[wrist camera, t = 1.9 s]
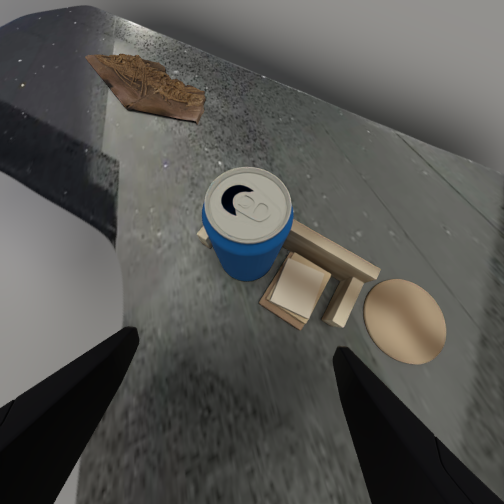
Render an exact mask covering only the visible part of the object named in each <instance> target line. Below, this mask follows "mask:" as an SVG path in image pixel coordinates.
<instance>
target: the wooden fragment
mask: <svg viewBox="0 0 504 504" xmlns="http://www.w3.org/2000/svg"><path fill="white" fill-rule="evenodd" d="M85 58H86V59H87V61H88V62H89V63H90V64H91V65H92V67H93V68H94V69H95V70H96V72H97V73H98V74H99V75H100V77H101V78H102V79H103V80H104V81H105V83H106V84H107V85H108V87H109V88H110V89H111V90H112V92H113V93H114V94H115V95H116V97H118V99H119V100H120V102H121V103H122V104H123V105H124V107H125V108H126V106H128V105H130V106H129V107H127V108H126V109H127V110H132V109H134V110H139V111H144V112H148V113H154V114H159V115H163V116H169V117H173V118H179V119H184V120H192V121H196V122H197V125H198V122H199V120H200V118H201V116H202V114H203V112H204V107H203V105H204V102H205V101H206V99H205V96H204V93H205V92H204V91H200V90H199V89H196V88H195V87H193V86H190V85H187V86H185V84H183V82H181V81H179V80H178V79H173V80H171V78H170V77H169V75H167V74H166V73H165V72H166V71H165V67H164V66H163V65H161V64H159V63H156V62H152V61H148V60H144V59H142V58H140V56H139V55H135V56H131V55H125V54H119V55H110V56H104V55H88V56H86V57H85Z"/></svg>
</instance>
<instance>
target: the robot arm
mask: <svg viewBox="0 0 504 504" xmlns="http://www.w3.org/2000/svg"><path fill="white" fill-rule="evenodd" d="M138 345H139V336H138V331H137V328H136V327H129V326H127V327H124V328H123V329H121V330H120V331H118V332H117V333H115V334H114V335H112V336H111V337H109V338H107V339H106V340H104V341H103V342H101V343H100V344H98V345H97V346H95V347H94V348H92V349H91V350H89V351H87V352H86V353H84V354H83V355H81V356H80V357H78V358H77V359H75V360H74V361H72V362H70V363H69V364H67V365H66V366H64V367H63V368H61V369H60V370H58V371H57V372H55V373H54V374H52V375H51V376H49V377H47V378H46V379H44V380H43V381H41V382H40V383H38V384H37V385H35V386H34V387H32V388H30V389H29V390H27V391H26V392H24V393H23V394H21V395H20V396H18V397H17V398H16V399H15V400H12V401H10V402H9V403H7V404H6V405H4V406H3V407H1V408H0V504H54V502H55V500H56V498H57V496H58V495H59V493H60V491H61V489H62V488H63V486H64V484H65V482H66V481H67V479H68V477H69V475H70V473H71V472H72V470H73V468H74V466H75V465H76V463H77V461H78V459H79V458H80V456H81V454H82V452H83V450H84V449H85V447H86V445H87V443H88V442H89V440H90V438H91V436H92V434H93V433H94V431H95V429H96V427H97V426H98V424H99V422H100V420H101V418H102V417H103V415H104V413H105V411H106V410H107V408H108V406H109V404H110V402H111V401H112V399H113V397H114V395H115V394H116V392H117V390H118V388H119V386H120V385H121V383H122V381H123V379H124V376H125V374H126V372H127V370H128V368H129V365H130V363H131V361H132V359H133V356H134V354H135V352H136V350H137V348H138ZM333 367H334V372H335V377H336V381H337V386H338V391H339V396H340V400H341V404H342V408H343V411H344V414H345V417H346V421H347V424H348V427H349V431H350V434H351V437H352V440H353V444H354V447H355V450H356V454H357V457H358V460H359V463H360V467H361V470H362V473H363V477H364V480H365V483H366V486H367V490H368V493H369V496H370V499H371V503H372V504H504V502H503V501H502V500H501V499H500V498H499V497H498V496H497V495H496V494H495V493H494V492H492V491H491V490H490V489H489V488H488V487H487V486H486V485H485V484H484V483H483V482H482V481H481V480H480V479H479V478H478V477H477V476H476V475H474V474H473V473H472V472H471V471H470V470H469V469H468V468H467V467H466V466H465V465H464V464H463V463H462V462H461V461H460V460H459V459H458V458H457V457H456V456H455V455H454V454H453V453H452V452H451V451H450V450H449V449H448V448H447V447H446V446H445V445H444V444H443V443H442V442H441V441H440V440H439V439H438V438H437V437H435V436H434V434H433V433H432V432H431V431H430V430H429V429H428V428H427V427H426V426H425V425H424V424H423V423H422V422H421V421H420V420H419V419H418V418H417V417H416V416H415V415H414V414H413V413H412V412H411V410H410V409H409V408H408V407H407V406H406V405H405V404H404V403H403V402H402V401H401V400H400V399H399V398H398V397H397V396H396V395H395V394H394V393H393V392H392V391H391V390H390V389H389V388H388V387H387V386H386V385H385V384H384V383H383V382H382V381H381V380H380V379H379V378H378V377H377V376H376V375H375V374H374V373H373V372H372V371H371V370H370V369H369V368H368V367H367V366H366V365H365V364H364V363H363V362H362V361H361V360H360V359H359V358H358V357H357V356H356V355H355V354H354V353H353V352H352V351H351V350H350V349H349V348H348V347H345V346H338V347H337V349H336V351H335V354H334V356H333Z"/></svg>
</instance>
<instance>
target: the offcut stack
mask: <svg viewBox="0 0 504 504" xmlns="http://www.w3.org/2000/svg"><path fill="white" fill-rule="evenodd" d="M330 276H331V274H330V273H329V272H327V271H325V270H324V269H322V268H320V267H319V266H317V265H315V264H314V263H312V262H310V261H309V260H307V259H305V258H304V257H302V256H300V255H299V254H297V253H295V252H294V253H292V252H290V253H289V254H288V256H287V258H286V259H285V261H284V262H283V264H282V266H281V267H280V269H279V271H278V272H277V274H276V275H275V277H274V279H273V280H272V282H271V284H270V285H269V287H268V289H267V290H266V292H265V293H264V295H263V297H262V298H261V300H260V302H259V304H260V305H262V306H263V307H265V308H266V309H268V310H269V311H271V312H272V313H274V314H275V315H277V316H278V317H280V318H281V319H283V320H284V321H286V322H287V323H289V324H290V325H292V326H293V327H295V328H296V329H298V330H302V328H303V326H304V324H306V323H307V321H308V319H309V318H310V315H311V313H312V311H313V309H314V307H315V305H316V304H317V302H318V300H319V298H320V296H321V294H322V292H323V290H324V288H325V286H326V284H327V282H328V280H329V278H330Z"/></svg>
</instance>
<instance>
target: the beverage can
mask: <svg viewBox="0 0 504 504" xmlns="http://www.w3.org/2000/svg"><path fill="white" fill-rule="evenodd" d="M202 221H203V225H204V228H205V231H206V233H207V235H208V237H209V239H210V241H211V243H212V246H213V248H214V250H215V252H216V254H217V256H218V258H219V260H220V263H221V265H222V267H223V268H224V270H225V271H226V272H227V273H228V274H229V275H230V276H231V277H233V278H235V279H237V280H241V281H253V280H256V279H259V278H261V277H262V276H264V275H265V274H266V273H267V272H268V271H269V269H270V268H271V266H272V264H273V262H274V260H275V259H276V257H277V255H278V253H279V251H280V249H281V247H282V245H283V244H284V242H285V240H286V238H287V236H288V234H289V232H290V230H291V227H292V224H293V207H292V204H291V198H290V194H289V192H288V190H287V188H286V186H285V185H284V184H283V182H282V181H281V180H280V179H279V178H277V177H276V176H275V175H273V174H272V173H270V172H268V171H265V170H263V169H259V168H254V167H240V168H235V169H232V170H229V171H227V172H225V173H223V174H221V175H220V176H219V177H217V178H216V179H215V180H214V181H213V182H212V184H211V185H210V187H209V188H208V190H207V193H206V196H205V201H204V204H203V209H202Z"/></svg>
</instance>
